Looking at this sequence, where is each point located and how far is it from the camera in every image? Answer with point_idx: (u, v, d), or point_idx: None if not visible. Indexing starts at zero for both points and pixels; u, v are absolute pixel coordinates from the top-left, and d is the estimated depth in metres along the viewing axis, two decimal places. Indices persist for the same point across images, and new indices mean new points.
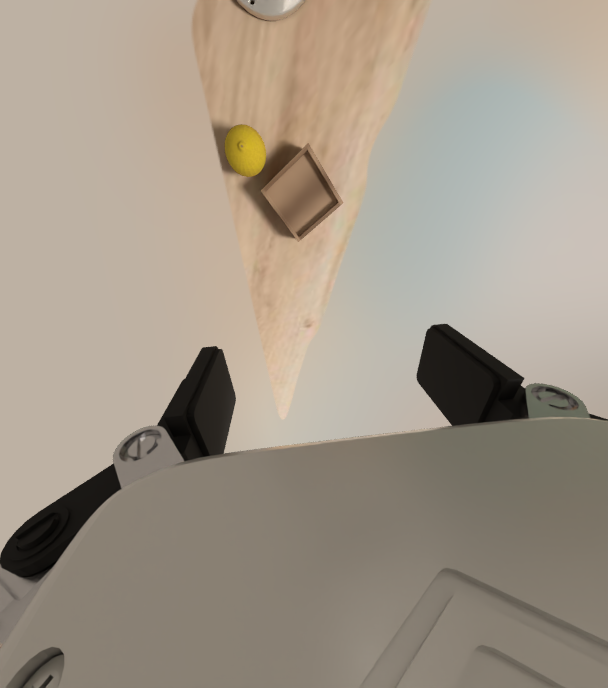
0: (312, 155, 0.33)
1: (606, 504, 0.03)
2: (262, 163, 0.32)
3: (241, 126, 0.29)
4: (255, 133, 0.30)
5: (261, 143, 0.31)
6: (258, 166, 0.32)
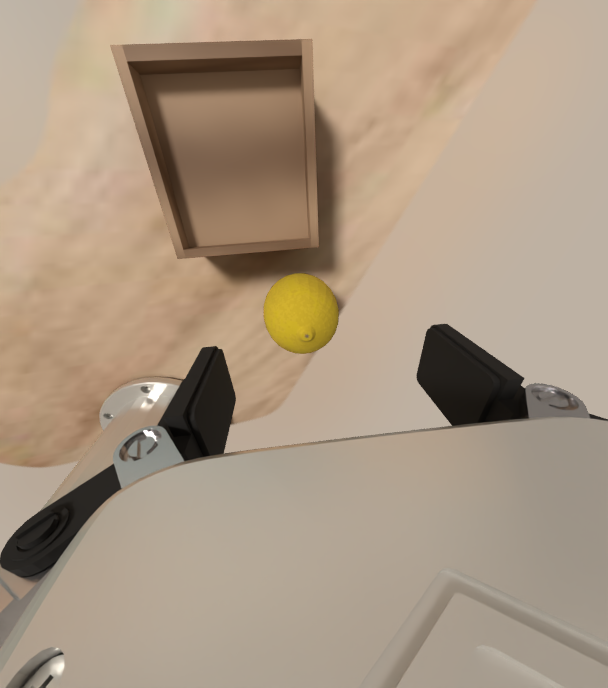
0: (175, 233, 0.14)
1: (606, 504, 0.03)
2: (285, 285, 0.15)
3: (286, 349, 0.16)
4: (270, 330, 0.16)
5: (268, 312, 0.15)
6: (296, 287, 0.15)
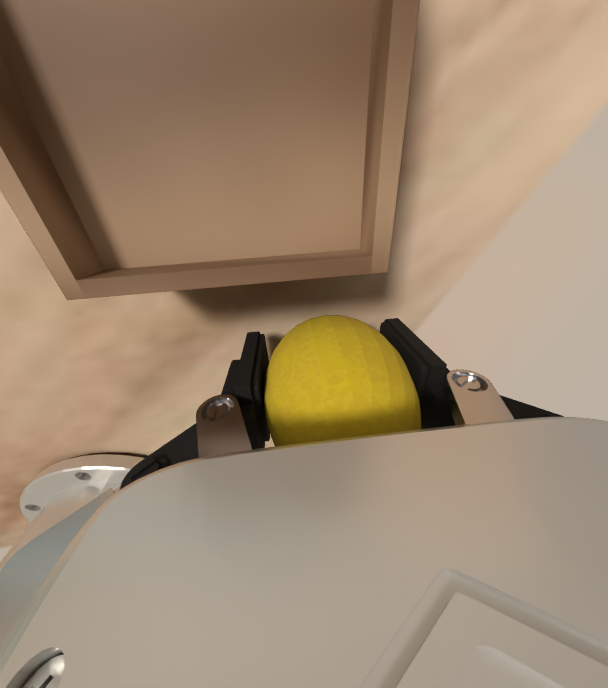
0: (48, 242, 0.06)
1: (606, 504, 0.03)
2: (311, 355, 0.07)
3: None
4: None
5: (273, 414, 0.07)
6: (339, 368, 0.06)
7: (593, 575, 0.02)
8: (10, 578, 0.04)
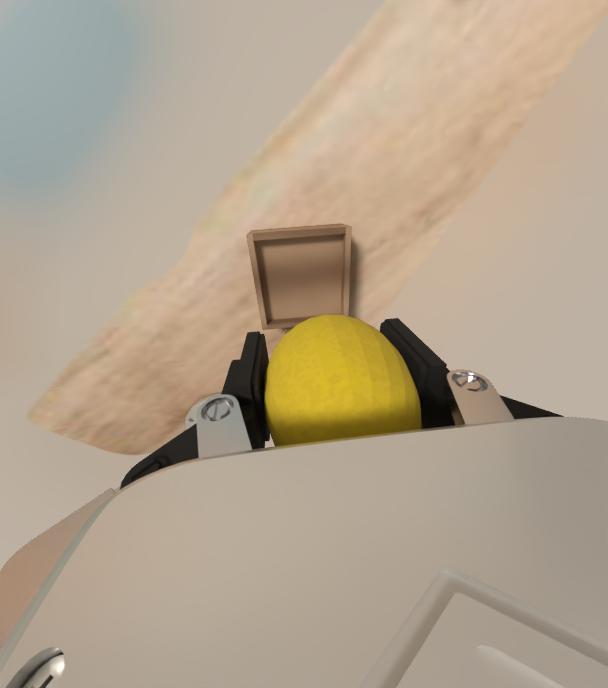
0: (263, 316, 0.24)
1: (606, 504, 0.03)
2: (311, 355, 0.07)
3: None
4: None
5: (273, 414, 0.07)
6: (339, 367, 0.06)
7: (593, 575, 0.02)
8: (10, 578, 0.04)
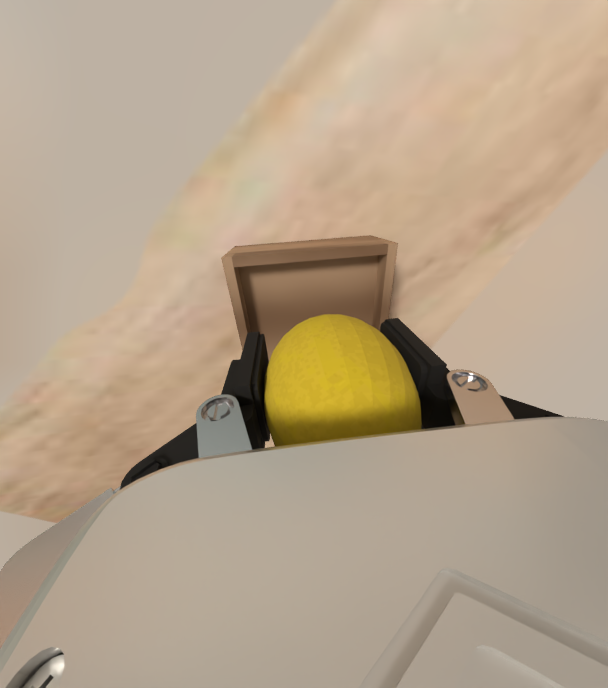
0: None
1: (606, 504, 0.03)
2: (311, 354, 0.07)
3: None
4: (276, 446, 0.07)
5: (273, 413, 0.07)
6: (339, 367, 0.06)
7: (593, 575, 0.02)
8: (10, 578, 0.04)
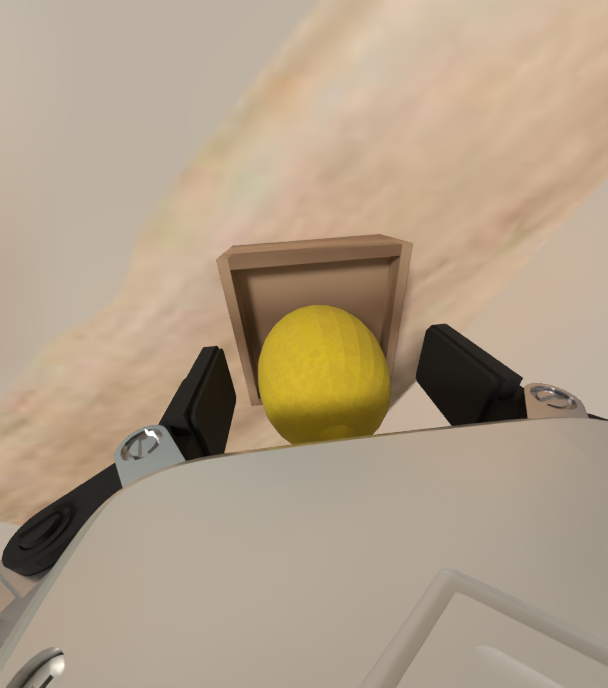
0: (253, 388, 0.14)
1: (606, 504, 0.03)
2: (297, 335, 0.08)
3: None
4: (267, 415, 0.09)
5: (265, 386, 0.08)
6: (318, 344, 0.08)
7: (593, 575, 0.02)
8: None
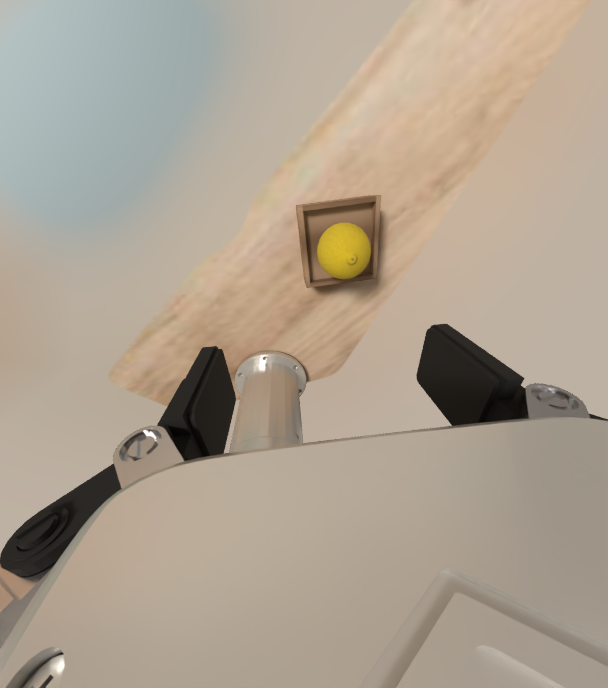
0: (308, 276, 0.29)
1: (606, 504, 0.03)
2: (335, 228, 0.23)
3: (335, 275, 0.24)
4: (325, 260, 0.23)
5: (324, 248, 0.23)
6: (344, 228, 0.22)
7: (593, 575, 0.02)
8: None
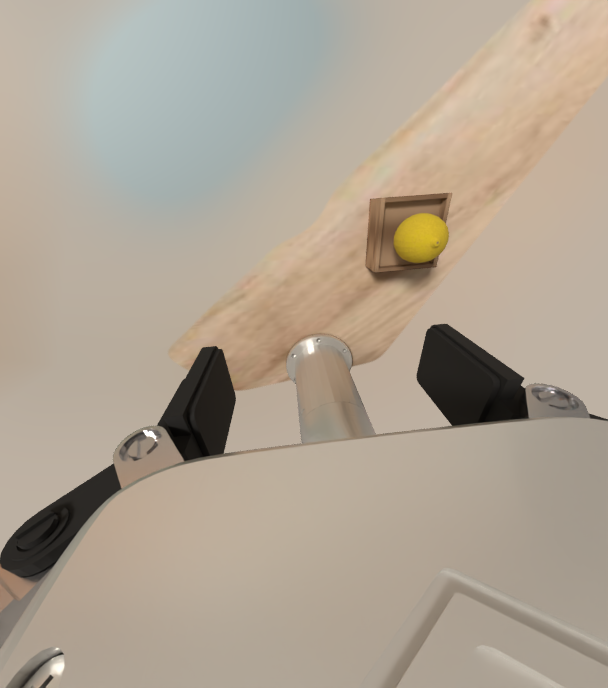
0: (378, 261, 0.33)
1: (606, 504, 0.03)
2: (419, 217, 0.27)
3: (415, 257, 0.28)
4: (408, 244, 0.27)
5: (409, 233, 0.27)
6: (429, 217, 0.26)
7: (593, 575, 0.02)
8: None
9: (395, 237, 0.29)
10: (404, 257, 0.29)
